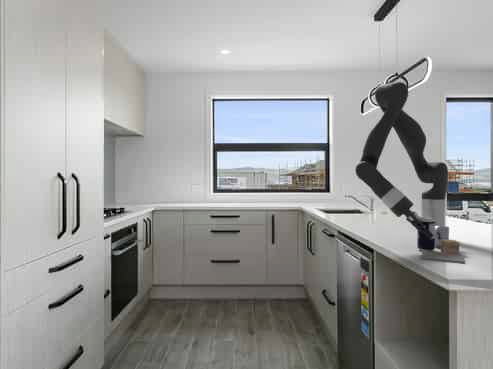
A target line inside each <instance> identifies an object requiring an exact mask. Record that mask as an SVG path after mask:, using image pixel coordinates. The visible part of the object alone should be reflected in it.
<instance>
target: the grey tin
mask: <svg viewBox="0 0 493 369" xmlns="http://www.w3.org/2000/svg"><path fill="white" fill-rule="evenodd" d="M441 240H450V227H449V226H447V225H445V226H435V249H438V250H441Z"/></svg>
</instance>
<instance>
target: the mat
mask: <svg viewBox="0 0 493 369" xmlns="http://www.w3.org/2000/svg"><path fill="white" fill-rule="evenodd" d="M420 257H421V260H428V261H439V262H446V263H456V264H465V260H464V256H463V254H461V253H459V254H454V253H443V252H441V251H434V250H433V251H421V256H420Z"/></svg>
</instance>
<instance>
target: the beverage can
mask: <svg viewBox="0 0 493 369" xmlns="http://www.w3.org/2000/svg"><path fill="white" fill-rule="evenodd" d="M419 218H420V219H421V220H422V223H423V224H424V225H425V227H426V228H427V229H428V230H429V231H430V232H431V233H432V234H433V237H432V238H430V239H428V238H427V237H426V236H425V235H424V234H423V233H422V232H420V231H418V230H417V238H416V239H417V240H416V242H417V244H416V245H417V246H416V247H417V249H418V250H419V251H421V252H422V251H433V252H434V250H435V249H436V248H435V220H434V218H431V217H421V216H419ZM419 226H420V224H419V225H418V227H419Z"/></svg>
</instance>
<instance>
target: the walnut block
mask: <svg viewBox="0 0 493 369" xmlns="http://www.w3.org/2000/svg"><path fill="white" fill-rule="evenodd" d="M440 252H443V253H454V254H460V242H459V241H457V240H456V239H449V240H441V249H440Z"/></svg>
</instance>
